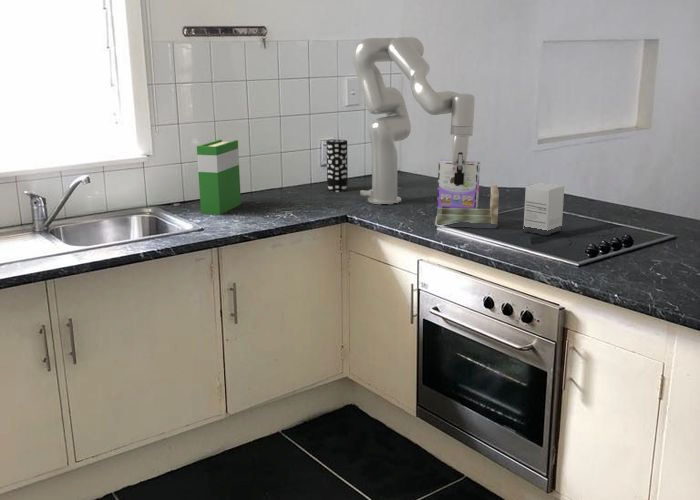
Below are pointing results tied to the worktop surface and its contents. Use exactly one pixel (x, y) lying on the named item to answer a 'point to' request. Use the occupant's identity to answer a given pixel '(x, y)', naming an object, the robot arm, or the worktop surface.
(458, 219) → the khaki l-shaped bracket
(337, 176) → the white-spotted black cylinder
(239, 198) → the hardback book
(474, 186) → the candy box
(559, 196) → the supplement box
